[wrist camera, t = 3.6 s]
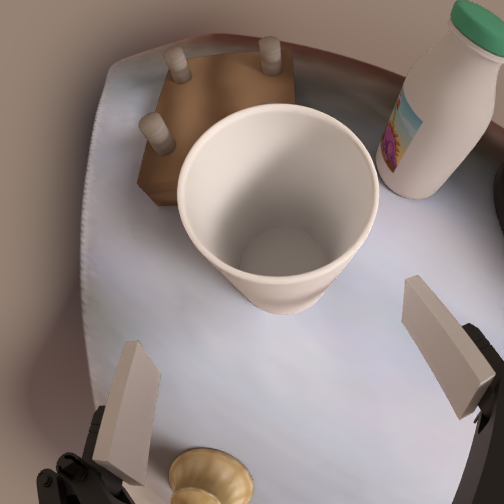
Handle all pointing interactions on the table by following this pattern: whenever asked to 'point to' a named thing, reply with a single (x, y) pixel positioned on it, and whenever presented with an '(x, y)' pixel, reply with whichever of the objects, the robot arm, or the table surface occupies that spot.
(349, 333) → the table surface
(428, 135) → the milk bottle
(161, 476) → the table surface
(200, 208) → the cup
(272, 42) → the riser
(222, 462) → the hand bell
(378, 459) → the table surface
